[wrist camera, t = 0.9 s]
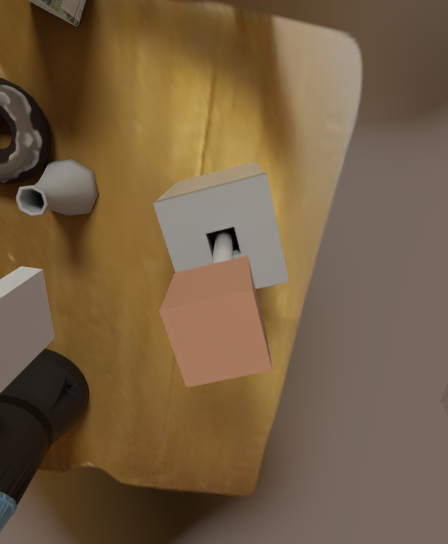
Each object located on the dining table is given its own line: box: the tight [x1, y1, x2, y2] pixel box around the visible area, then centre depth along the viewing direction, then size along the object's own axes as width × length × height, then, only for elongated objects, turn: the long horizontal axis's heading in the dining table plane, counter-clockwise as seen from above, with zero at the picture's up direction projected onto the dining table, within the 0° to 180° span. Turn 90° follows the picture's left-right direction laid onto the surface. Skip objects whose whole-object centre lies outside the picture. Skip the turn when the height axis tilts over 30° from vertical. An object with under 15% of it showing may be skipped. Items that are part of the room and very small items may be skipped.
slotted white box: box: [153, 161, 289, 289], centre depth 40 cm, size 10×10×16 cm
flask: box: [16, 159, 99, 216], centre depth 42 cm, size 7×7×10 cm
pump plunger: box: [160, 228, 272, 388], centre depth 27 cm, size 4×4×20 cm
